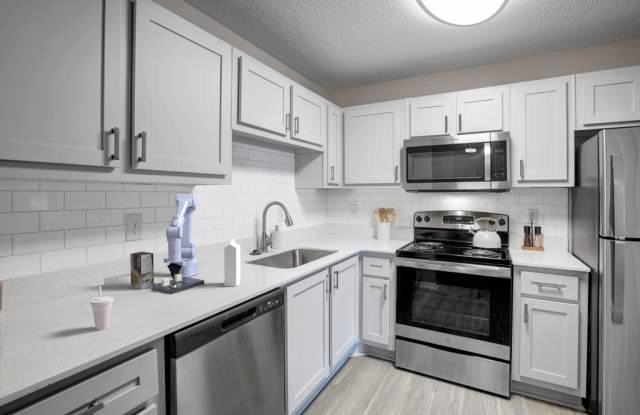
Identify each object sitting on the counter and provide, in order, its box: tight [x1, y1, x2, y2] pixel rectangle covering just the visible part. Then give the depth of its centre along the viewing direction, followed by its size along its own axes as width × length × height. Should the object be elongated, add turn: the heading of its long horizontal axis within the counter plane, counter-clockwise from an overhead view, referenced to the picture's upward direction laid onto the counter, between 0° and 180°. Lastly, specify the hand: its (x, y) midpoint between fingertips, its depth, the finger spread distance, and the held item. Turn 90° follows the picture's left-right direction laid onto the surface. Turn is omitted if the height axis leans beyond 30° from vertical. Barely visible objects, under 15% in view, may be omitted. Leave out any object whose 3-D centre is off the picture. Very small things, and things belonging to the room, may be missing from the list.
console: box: [151, 276, 205, 295], centre depth 154 cm, size 18×14×3 cm
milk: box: [223, 239, 241, 287], centre depth 158 cm, size 6×6×22 cm
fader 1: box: [161, 277, 171, 287], centre depth 148 cm, size 3×2×3 cm, turn 150°
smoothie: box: [90, 285, 114, 331], centre depth 107 cm, size 6×6×14 cm
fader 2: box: [173, 274, 182, 282], centre depth 156 cm, size 3×2×3 cm, turn 150°
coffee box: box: [129, 251, 155, 290], centre depth 154 cm, size 9×6×16 cm
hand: (175, 278), depth 157 cm, fingers closed
